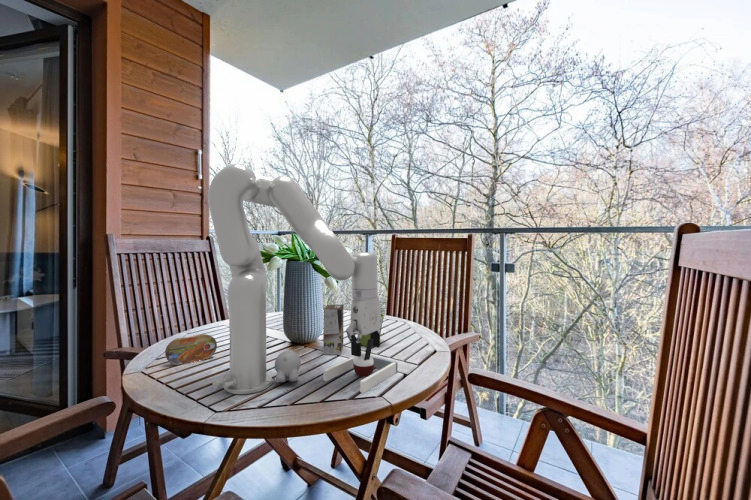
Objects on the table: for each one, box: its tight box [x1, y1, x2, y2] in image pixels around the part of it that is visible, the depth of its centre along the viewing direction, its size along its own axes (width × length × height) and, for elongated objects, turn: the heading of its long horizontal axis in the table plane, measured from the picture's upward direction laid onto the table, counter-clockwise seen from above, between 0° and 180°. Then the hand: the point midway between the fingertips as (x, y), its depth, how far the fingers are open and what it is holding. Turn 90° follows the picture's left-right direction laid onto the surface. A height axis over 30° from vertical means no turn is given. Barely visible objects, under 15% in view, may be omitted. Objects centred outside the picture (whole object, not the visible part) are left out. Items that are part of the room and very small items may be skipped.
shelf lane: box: [322, 355, 399, 394], centre depth 104 cm, size 18×14×3 cm
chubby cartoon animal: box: [274, 350, 302, 383], centre depth 101 cm, size 7×12×8 cm, turn 10°
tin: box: [164, 333, 218, 366], centre depth 115 cm, size 15×3×8 cm, turn 129°
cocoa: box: [352, 339, 375, 378], centre depth 104 cm, size 10×6×12 cm, turn 4°
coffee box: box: [322, 304, 345, 356], centre depth 127 cm, size 9×6×16 cm
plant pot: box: [360, 312, 386, 347], centre depth 135 cm, size 12×12×11 cm
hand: (366, 350), depth 105 cm, fingers open, 9 cm apart
